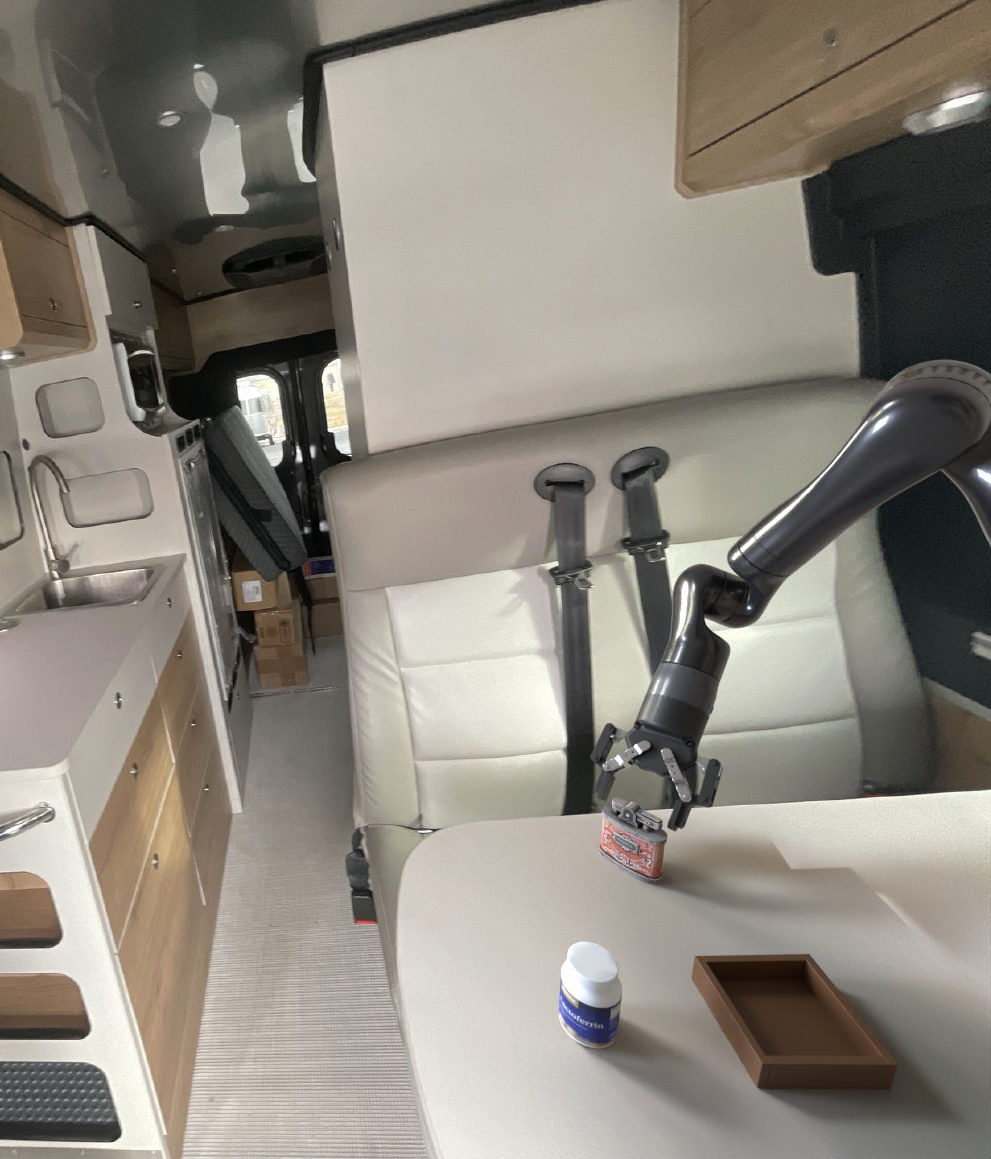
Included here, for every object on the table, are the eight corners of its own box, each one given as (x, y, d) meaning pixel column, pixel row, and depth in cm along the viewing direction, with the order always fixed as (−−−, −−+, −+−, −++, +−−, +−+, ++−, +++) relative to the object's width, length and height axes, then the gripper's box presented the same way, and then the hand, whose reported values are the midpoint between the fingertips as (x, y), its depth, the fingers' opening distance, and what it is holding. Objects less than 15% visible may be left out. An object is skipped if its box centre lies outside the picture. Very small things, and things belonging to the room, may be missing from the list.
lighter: (593, 853, 94) (597, 797, 90) (607, 842, 95) (611, 786, 91) (653, 889, 87) (660, 829, 83) (667, 876, 88) (675, 817, 85)
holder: (803, 976, 74) (809, 953, 73) (890, 1089, 63) (898, 1064, 62) (691, 978, 76) (694, 955, 74) (756, 1088, 65) (762, 1064, 64)
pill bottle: (549, 1028, 73) (552, 964, 69) (569, 989, 77) (573, 927, 73) (607, 1063, 69) (613, 997, 65) (625, 1021, 73) (632, 956, 69)
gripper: (614, 678, 93) (572, 785, 91) (736, 714, 83) (692, 835, 81) (627, 694, 98) (587, 796, 96) (744, 730, 88) (702, 845, 85)
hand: (635, 814), depth 88 cm, fingers open, 8 cm apart
